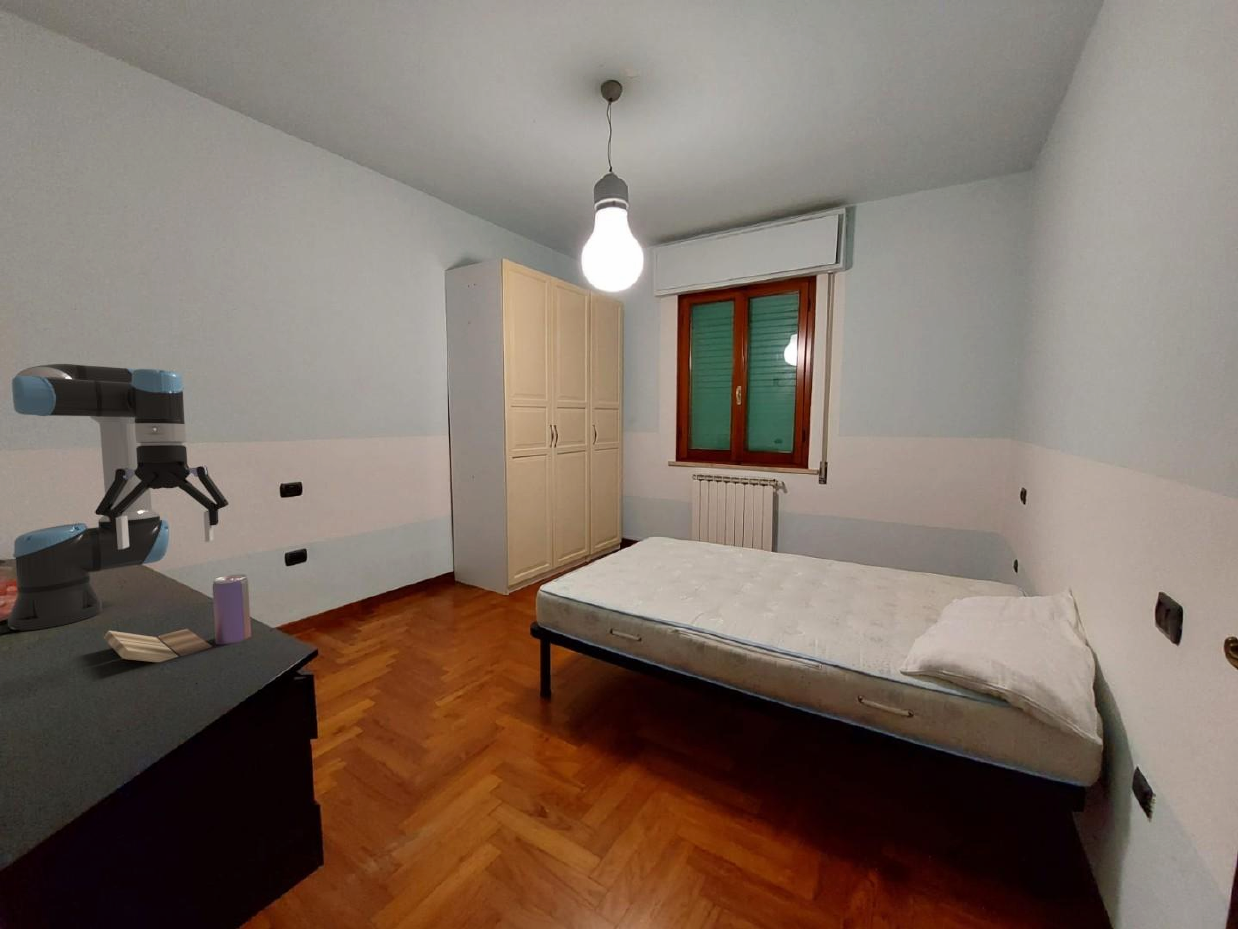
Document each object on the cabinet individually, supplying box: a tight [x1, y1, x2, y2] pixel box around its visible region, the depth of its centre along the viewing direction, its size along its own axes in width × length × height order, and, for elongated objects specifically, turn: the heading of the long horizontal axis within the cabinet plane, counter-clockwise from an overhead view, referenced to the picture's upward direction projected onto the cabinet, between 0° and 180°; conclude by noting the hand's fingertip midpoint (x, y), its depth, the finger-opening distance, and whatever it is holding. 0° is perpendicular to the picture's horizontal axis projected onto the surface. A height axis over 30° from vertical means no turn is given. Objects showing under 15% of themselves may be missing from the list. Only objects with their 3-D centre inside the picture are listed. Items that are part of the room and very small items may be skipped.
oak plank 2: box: [112, 640, 179, 663], centre depth 92 cm, size 8×8×2 cm
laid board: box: [156, 628, 213, 657], centre depth 100 cm, size 17×5×2 cm, turn 57°
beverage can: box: [212, 573, 252, 645], centre depth 101 cm, size 6×6×15 cm
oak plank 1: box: [103, 630, 167, 648], centre depth 97 cm, size 8×8×2 cm
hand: (168, 544), depth 98 cm, fingers open, 13 cm apart
